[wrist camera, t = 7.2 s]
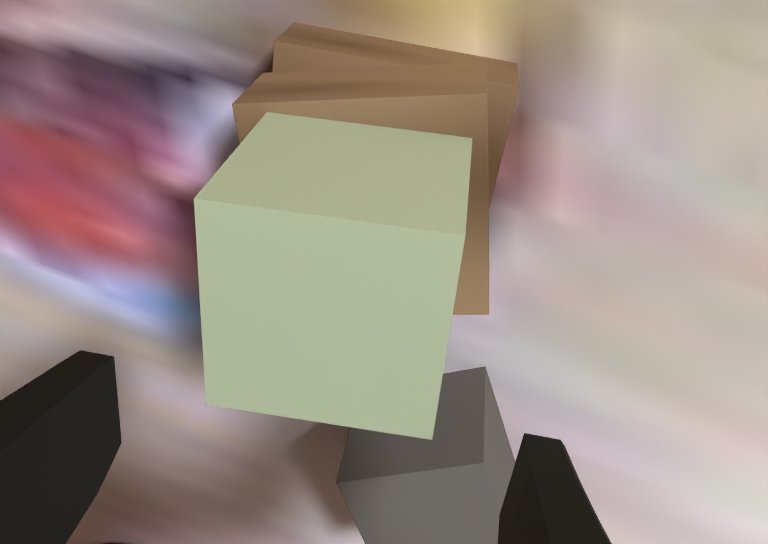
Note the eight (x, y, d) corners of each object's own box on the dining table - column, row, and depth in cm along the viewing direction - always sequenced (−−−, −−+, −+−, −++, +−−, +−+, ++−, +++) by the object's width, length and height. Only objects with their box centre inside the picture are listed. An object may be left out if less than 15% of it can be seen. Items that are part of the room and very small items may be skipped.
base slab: (470, 250, 22) (467, 293, 20) (282, 214, 23) (260, 253, 21) (516, 59, 19) (519, 85, 17) (298, 19, 20) (274, 41, 17)
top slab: (489, 263, 20) (488, 314, 18) (294, 265, 21) (272, 313, 18) (487, 62, 17) (487, 93, 15) (262, 72, 18) (231, 103, 16)
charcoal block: (515, 461, 26) (519, 567, 22) (398, 477, 27) (382, 580, 24) (485, 365, 24) (483, 463, 20) (360, 386, 25) (336, 482, 22)
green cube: (445, 311, 18) (432, 440, 14) (267, 285, 18) (206, 404, 14) (472, 137, 15) (465, 235, 12) (267, 111, 16) (193, 198, 12)
